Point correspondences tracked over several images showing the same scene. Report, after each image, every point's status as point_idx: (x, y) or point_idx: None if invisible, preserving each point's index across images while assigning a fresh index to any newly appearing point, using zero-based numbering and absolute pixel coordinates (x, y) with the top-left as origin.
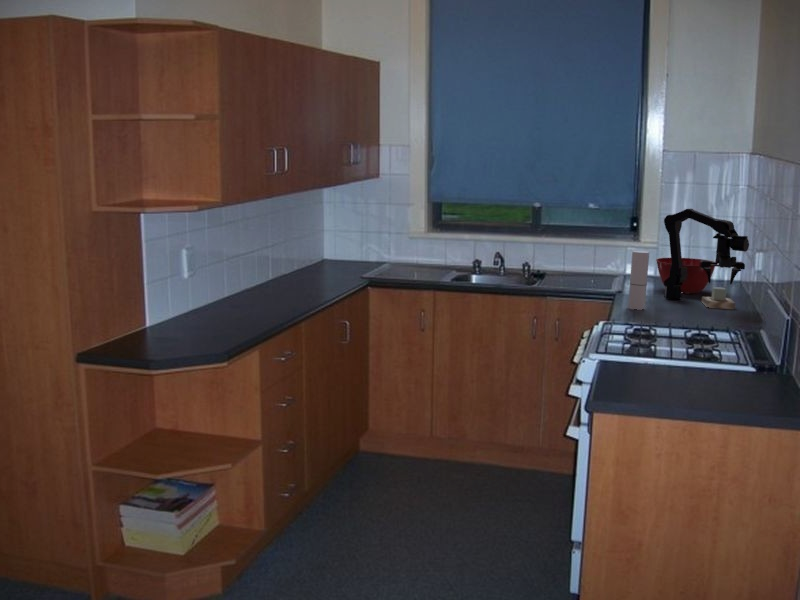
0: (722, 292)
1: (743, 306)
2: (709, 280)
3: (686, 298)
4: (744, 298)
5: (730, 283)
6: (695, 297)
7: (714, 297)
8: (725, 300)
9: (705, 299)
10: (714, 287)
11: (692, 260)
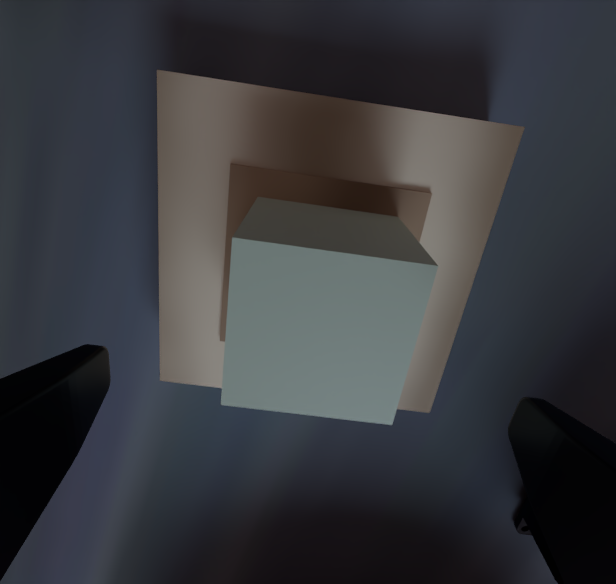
0: (298, 230)
1: (53, 273)
2: (585, 432)
3: (447, 520)
4: None
5: (101, 365)
6: (358, 556)
7: (398, 222)
8: (256, 192)
9: (482, 249)
10: (377, 393)
11: None
